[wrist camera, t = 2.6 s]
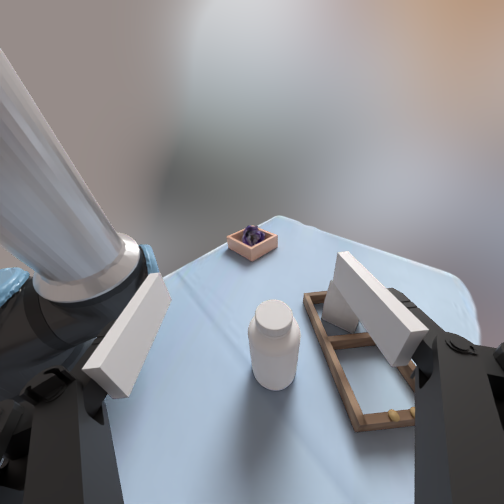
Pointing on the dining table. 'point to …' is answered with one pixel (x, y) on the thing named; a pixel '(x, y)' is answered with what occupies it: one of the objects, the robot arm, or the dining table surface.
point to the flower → (252, 236)
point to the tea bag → (338, 310)
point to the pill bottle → (274, 344)
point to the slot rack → (351, 405)
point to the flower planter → (254, 251)
